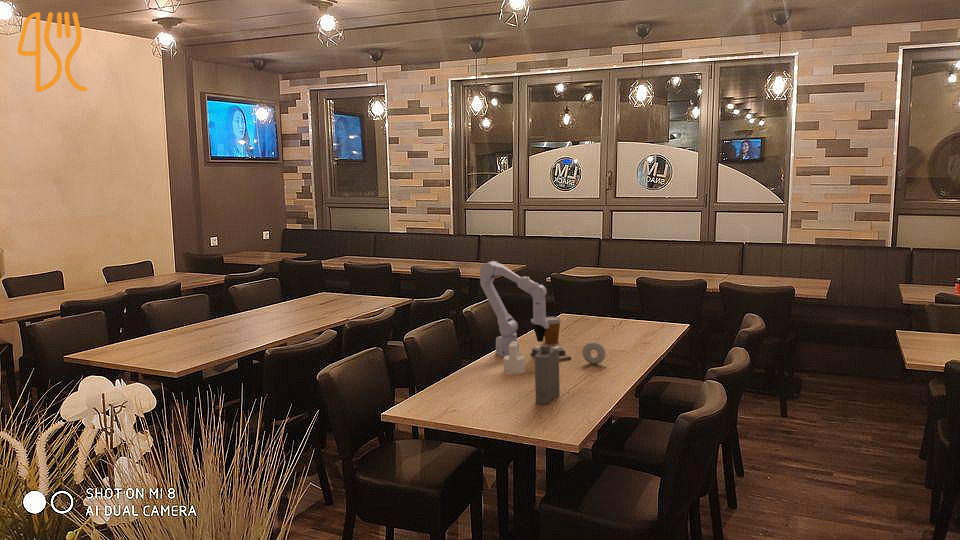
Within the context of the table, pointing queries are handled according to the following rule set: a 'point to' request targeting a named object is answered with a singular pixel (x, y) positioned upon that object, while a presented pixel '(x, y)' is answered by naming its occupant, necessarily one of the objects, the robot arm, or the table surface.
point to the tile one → (537, 348)
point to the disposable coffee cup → (552, 330)
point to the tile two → (558, 348)
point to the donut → (589, 357)
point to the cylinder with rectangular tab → (514, 360)
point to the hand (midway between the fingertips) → (540, 341)
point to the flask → (546, 374)
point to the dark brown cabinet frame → (561, 355)
